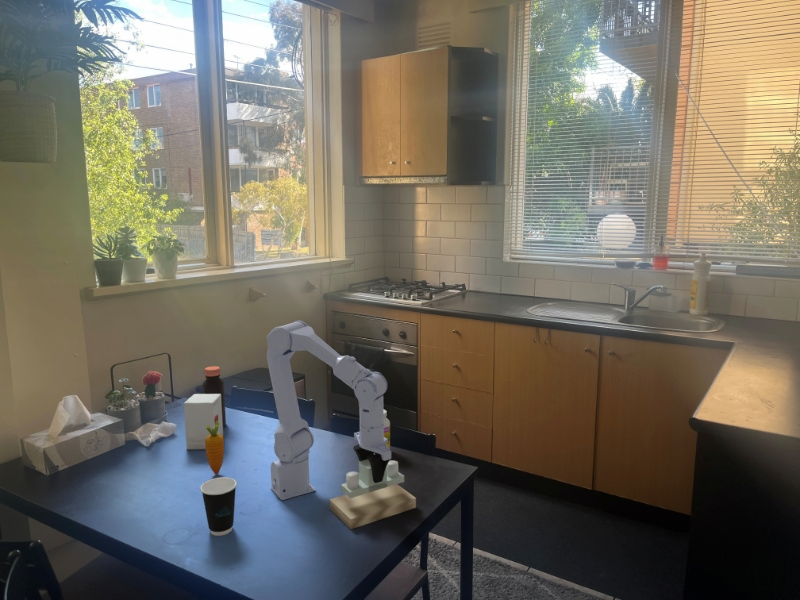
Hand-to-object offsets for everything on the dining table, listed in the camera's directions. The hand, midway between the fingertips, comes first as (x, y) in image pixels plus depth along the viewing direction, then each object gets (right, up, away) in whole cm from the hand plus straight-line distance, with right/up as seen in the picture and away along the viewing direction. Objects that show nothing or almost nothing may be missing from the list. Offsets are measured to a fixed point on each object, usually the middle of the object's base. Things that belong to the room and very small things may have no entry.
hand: (372, 477), depth 144 cm
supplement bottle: (0, -3, +34) cm, 34 cm away
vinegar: (-55, +1, +56) cm, 79 cm away
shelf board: (0, -8, +1) cm, 8 cm away
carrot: (-44, -5, +20) cm, 49 cm away
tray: (0, -2, 0) cm, 2 cm away
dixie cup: (-34, -10, -8) cm, 37 cm away
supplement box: (-54, -2, +41) cm, 67 cm away
